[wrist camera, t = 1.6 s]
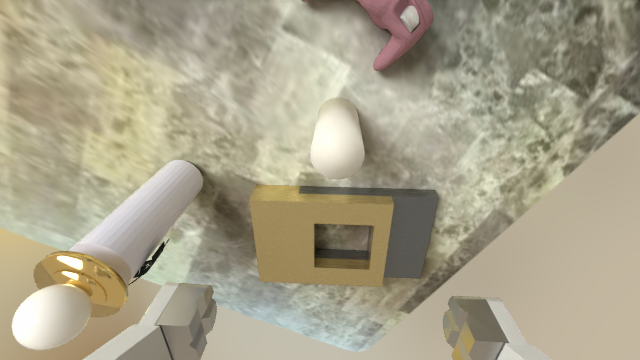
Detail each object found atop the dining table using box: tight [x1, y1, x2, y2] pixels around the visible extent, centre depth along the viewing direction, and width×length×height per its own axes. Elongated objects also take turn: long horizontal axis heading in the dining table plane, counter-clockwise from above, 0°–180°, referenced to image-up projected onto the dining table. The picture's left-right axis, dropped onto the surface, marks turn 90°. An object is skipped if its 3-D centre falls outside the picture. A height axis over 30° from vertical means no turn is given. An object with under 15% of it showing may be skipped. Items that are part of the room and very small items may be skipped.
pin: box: [310, 98, 365, 179], centre depth 26 cm, size 4×4×9 cm
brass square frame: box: [249, 185, 439, 287], centre depth 35 cm, size 20×12×3 cm, turn 90°
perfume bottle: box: [12, 160, 203, 350], centre depth 25 cm, size 6×6×20 cm
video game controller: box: [302, 0, 433, 71], centre depth 23 cm, size 10×5×7 cm, turn 50°
